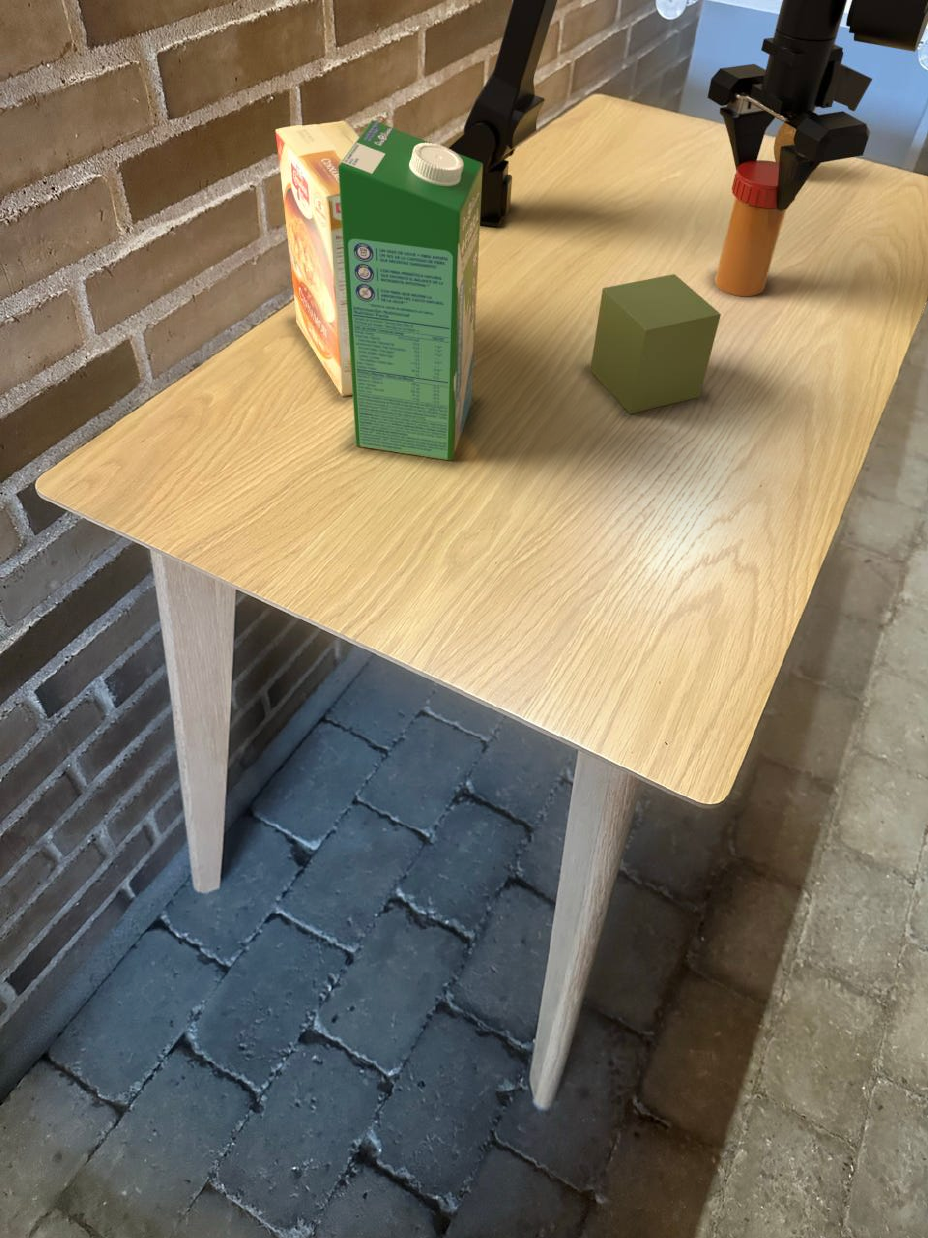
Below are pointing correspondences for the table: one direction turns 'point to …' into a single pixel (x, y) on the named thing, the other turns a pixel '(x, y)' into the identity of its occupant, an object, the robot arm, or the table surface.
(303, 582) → the table surface
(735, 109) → the robot arm
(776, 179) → the lid
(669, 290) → the tea box
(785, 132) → the fruit
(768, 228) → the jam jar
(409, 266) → the milk carton
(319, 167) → the coffeecake box
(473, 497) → the table surface
